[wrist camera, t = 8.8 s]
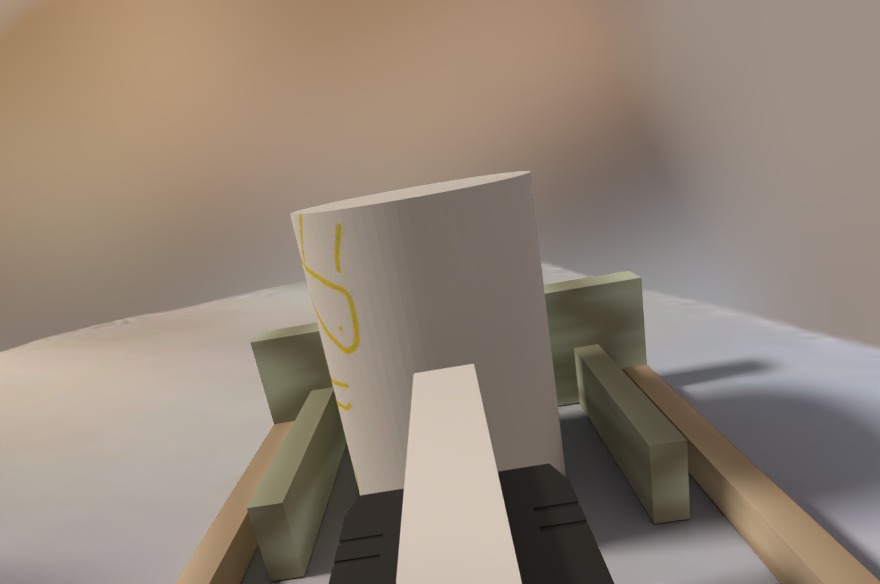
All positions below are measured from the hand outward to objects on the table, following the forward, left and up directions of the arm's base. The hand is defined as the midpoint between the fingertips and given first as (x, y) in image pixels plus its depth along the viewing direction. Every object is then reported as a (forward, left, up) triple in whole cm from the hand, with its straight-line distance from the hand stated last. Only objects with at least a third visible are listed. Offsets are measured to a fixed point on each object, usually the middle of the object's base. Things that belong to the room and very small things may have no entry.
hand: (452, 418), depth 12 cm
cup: (0, +6, -7) cm, 9 cm away
